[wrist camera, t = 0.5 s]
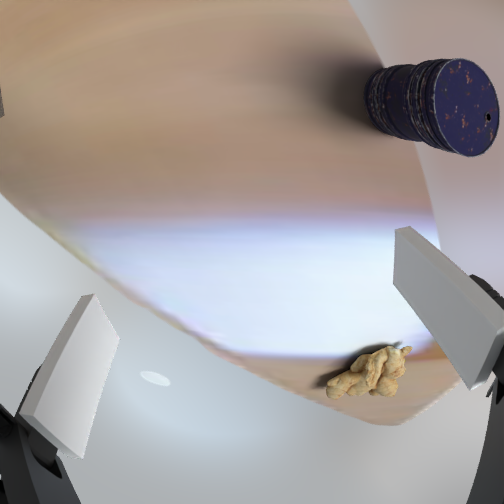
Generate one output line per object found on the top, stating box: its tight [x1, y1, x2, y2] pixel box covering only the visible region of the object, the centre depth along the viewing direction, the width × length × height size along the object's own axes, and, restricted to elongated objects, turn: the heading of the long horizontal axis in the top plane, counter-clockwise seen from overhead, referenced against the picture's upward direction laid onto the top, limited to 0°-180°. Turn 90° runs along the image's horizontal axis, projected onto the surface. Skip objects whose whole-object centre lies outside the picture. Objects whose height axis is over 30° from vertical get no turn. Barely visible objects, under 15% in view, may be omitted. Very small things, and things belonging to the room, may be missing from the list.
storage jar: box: [364, 58, 500, 157], centre depth 26 cm, size 10×10×15 cm
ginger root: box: [326, 346, 412, 400], centre depth 51 cm, size 16×16×8 cm
